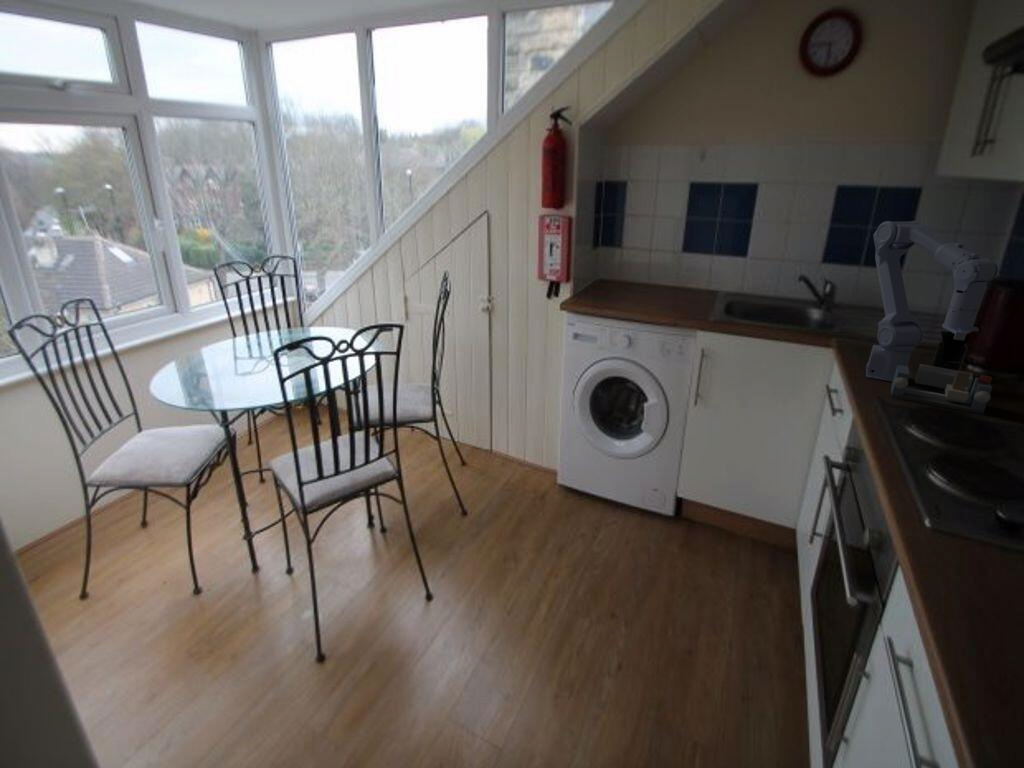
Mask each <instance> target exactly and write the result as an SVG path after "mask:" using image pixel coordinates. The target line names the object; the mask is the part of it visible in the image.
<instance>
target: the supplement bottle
mask: <svg viewBox="0 0 1024 768" xmlns="http://www.w3.org/2000/svg"><path fill="white" fill-rule="evenodd" d="M942 347H943V341H942V340H941V341H939V342H938V344H937V347H936V349H935V352H934V356H933V358H932V362H931V364H930V366H934V367H940V368H945V369H951V370H960V371H961V368H962V365H963V362H964V359H965V357H966V353H967V352H968V345H967V344H965V345H964V346H963V347H962V348H961V349H960V351H959V352H958V354H957V356H956V357H955V359H954V360H953V362H948V361H942Z"/></svg>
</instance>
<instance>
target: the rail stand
mask: <svg viewBox="0 0 1024 768" xmlns="http://www.w3.org/2000/svg"><path fill="white" fill-rule="evenodd" d="M909 378H910V370H909V366H901V365H897V369H896V372H895V375H894V379H893V382H892V381H891V385H890V397H891V398H893V399H899V400H905V401H908V402H909V401H910V402H914V403H915V402H916V403H920V404H921V403H922V404H924V405H925V404H926V405H932V406H936V407H937V406H938V407H943V408H948V409H954V410H958V411H959V410H960V411H964V412H968V413H969V412H970V413H975V414H981V415H984V413H985V410H986V406H987V404H988V402H989V401H990V400H991V397H992V396H991V392H992V390H993V386H992V385H991V383H983V382H980V381H978V379H979V377H975V378H974V380H973V384H972V385H971V388H970V391H969V396H968V398H967V401H966V402H965V403H962V402H956V401H950V400H945V397H946V395H945V393H940V392H934V391H929V390H924V389H923V390H922V389H918V388H910V387H908V385H909V381H908V380H909Z"/></svg>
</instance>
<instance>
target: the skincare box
mask: <svg viewBox="0 0 1024 768" xmlns="http://www.w3.org/2000/svg"><path fill="white" fill-rule="evenodd" d="M956 372H957V370H951V369H945V368H940V367H934V366H931V365H928V364H922V363H920V364H919V367H918V370H917V372H916V377H915V379H914V380H915V381H914V384H918V385H924V386H928V387H929V386H931V387H935V388H938V389H944V390H945V389H946V386H947V384H950V385H952V384H953V381H954V378H955V375H956ZM969 373H970V377H969V379H968V382H967V385H966V387H967V389H968V392H969V393H970V391H971V388H972V385H973V384H972V383H973V382H974V373H973V372H969Z"/></svg>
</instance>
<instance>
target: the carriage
mask: <svg viewBox="0 0 1024 768" xmlns="http://www.w3.org/2000/svg"><path fill="white" fill-rule="evenodd" d="M970 373H971V372H969V371H966V370H965V371H964V370H961V369H960V370H957V372H956V375H955V378H954V381H953V384H952V385H950V384H947V386H946V389H944V394H945V395H946V397H945V400H950V401H956V402H962V403H965V402H966V401H967V398H969V395H970V391H969V392H968V389H967V387H966V385H967V382H968V379H969V377H970Z"/></svg>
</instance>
